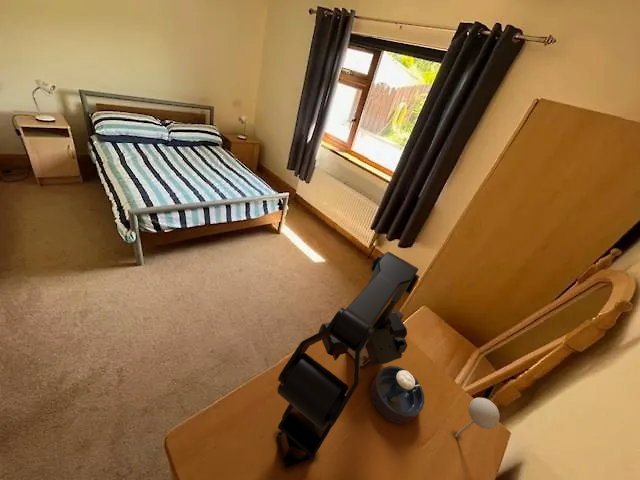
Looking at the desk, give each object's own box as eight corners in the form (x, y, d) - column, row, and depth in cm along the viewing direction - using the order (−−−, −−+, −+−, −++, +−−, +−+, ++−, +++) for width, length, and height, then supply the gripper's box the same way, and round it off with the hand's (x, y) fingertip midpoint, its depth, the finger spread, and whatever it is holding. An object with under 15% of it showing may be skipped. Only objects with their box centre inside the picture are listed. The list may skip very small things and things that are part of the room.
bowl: (385, 431, 70) (392, 422, 67) (361, 381, 79) (367, 371, 76) (426, 416, 75) (434, 407, 73) (399, 370, 84) (406, 361, 81)
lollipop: (470, 454, 70) (509, 426, 62) (446, 445, 71) (481, 416, 62) (465, 426, 76) (501, 397, 67) (442, 418, 76) (475, 388, 67)
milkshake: (399, 412, 74) (417, 391, 68) (381, 396, 76) (396, 374, 70) (407, 398, 77) (424, 377, 71) (389, 383, 79) (404, 362, 73)
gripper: (352, 354, 50) (328, 400, 59) (437, 335, 58) (404, 378, 67) (327, 302, 58) (309, 350, 67) (405, 292, 66) (379, 335, 75)
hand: (352, 354), depth 69 cm, fingers open, 9 cm apart
